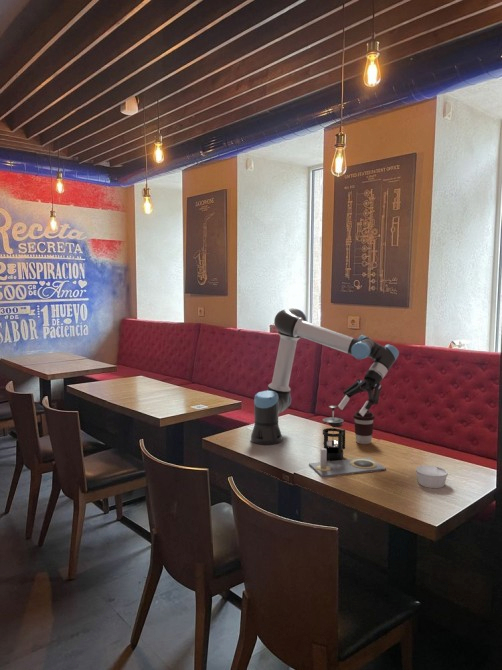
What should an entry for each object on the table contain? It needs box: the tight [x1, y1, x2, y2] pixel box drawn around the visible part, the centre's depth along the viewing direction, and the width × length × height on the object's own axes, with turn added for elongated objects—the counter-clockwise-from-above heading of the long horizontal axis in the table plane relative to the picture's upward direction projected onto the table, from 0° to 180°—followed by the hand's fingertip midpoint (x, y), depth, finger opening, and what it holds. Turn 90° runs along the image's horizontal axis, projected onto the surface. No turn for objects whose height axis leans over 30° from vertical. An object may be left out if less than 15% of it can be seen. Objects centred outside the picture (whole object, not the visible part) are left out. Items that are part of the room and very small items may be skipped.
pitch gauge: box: [308, 447, 387, 478], centre depth 202 cm, size 14×28×9 cm, turn 105°
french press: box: [322, 405, 346, 462], centre depth 214 cm, size 12×9×23 cm
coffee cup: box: [353, 409, 376, 445], centre depth 236 cm, size 10×10×15 cm
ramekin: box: [415, 465, 448, 489], centre depth 185 cm, size 11×11×5 cm
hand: (350, 411), depth 217 cm, fingers open, 13 cm apart
